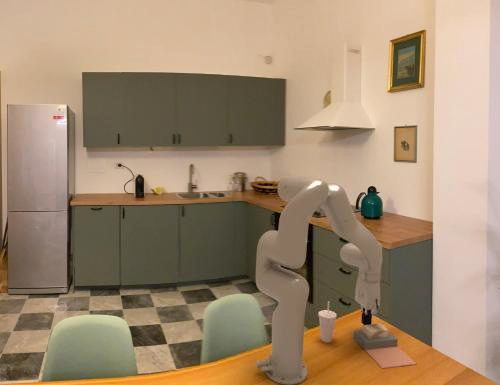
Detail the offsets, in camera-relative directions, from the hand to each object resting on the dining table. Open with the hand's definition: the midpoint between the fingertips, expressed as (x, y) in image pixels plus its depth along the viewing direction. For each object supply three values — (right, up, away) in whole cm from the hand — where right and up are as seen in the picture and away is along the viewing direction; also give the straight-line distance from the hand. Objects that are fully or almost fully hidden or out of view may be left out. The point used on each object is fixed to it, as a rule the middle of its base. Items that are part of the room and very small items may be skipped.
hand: (366, 323), depth 143 cm
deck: (+1, -5, -6) cm, 7 cm away
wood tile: (+1, -1, -6) cm, 6 cm away
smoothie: (-15, -5, -4) cm, 17 cm away
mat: (+3, -6, -15) cm, 16 cm away
